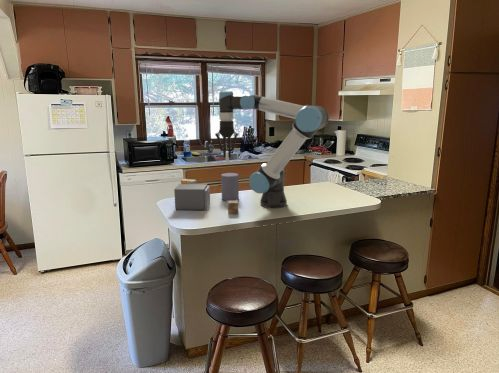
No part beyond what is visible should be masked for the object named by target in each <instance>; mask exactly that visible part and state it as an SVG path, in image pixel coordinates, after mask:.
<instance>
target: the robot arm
mask: <svg viewBox="0 0 499 373" xmlns="http://www.w3.org/2000/svg"><path fill="white" fill-rule="evenodd" d="M218 95H219V96H218V102H219V120H220V121H219V130H218V131H217V132H216V133H215V134H214V135H215V137H216V139H217V143H218V146H219V150H220V151H222V152H223V158H225V164H226V165H228V164H229V163H230V159H229V158H231V157H232V155H231V153H232V151H234V150H235V145H236V141H237V138H238V136H239V132H236V131H235V129H234V110H243V111H244V110H245V111H248V110H257V111H260V112H265V113H269V114H274V115H277V116H282V117H286V118H289V119H290V118H291V119H294V121H293V122H292V129H291V131H289V133H288V134H287V135H286V137H285V138H284V139H283V141H282V142H281V144H280V145H279V146H278V147H277V149H276V150H275V152H274V153H273V154H272V155H271V157H270V158H269V159H268V160H267V162H264V163H262V164H261V165H260V166H259V168H258V169H257V170H256V171H255V172H253V173H252V174H251V175H250V177H249V180H248V182H249V187H250V189H251V190H252V191H253V192H254V193H257V194H261V198H260V202H259V204H260V206H262V207H264V208H271V209H272V208H273V209H274V208H275V209H276V208H277V209H278V208H283V207H287V204H288V203H287V202H288V200H287V197H286V195H285V167H286V165H287V164H288V163H289V162H290V160H291V159H292V158H293V157H294V156H295V154H296V153H297V152H298V150H300V148H301V147H302V146H303V144H304V143H305V142H306V140H309V139H312V138H313V136H314V135H315V134H316V133H317V132H318V131H319V130H321V129H323V128H325V127H326V126H327V125H328V123H329V120H330V113H329V112H328V110H327V109H326V108H325V107H323V106H321V105H312V104H311V105H310V104H306V105H301V104H296V103H292V102H288V101H283V100H279V99H275V98H271V97H270V98H269V97H266V96H261V95H259V94H234V92H233V91H231V90H230V91H229V90H225V91H220V92H219V94H218ZM220 135H221V137H222V139H223V140H222V141H223V145H222V141H221V137H220ZM232 136H234V137H233V140H232V144H231V137H232ZM227 149H228V150H227Z"/></svg>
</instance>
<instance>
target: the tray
mask: <svg viewBox="0 0 499 373" xmlns="http://www.w3.org/2000/svg"><path fill="white" fill-rule="evenodd" d="M210 187H211V186H210V185H207V187H206V189H205V190H204V195H205V198H204V202H205V211H208V209H209V208H210V206H211V191H210V189H211V188H210Z"/></svg>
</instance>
